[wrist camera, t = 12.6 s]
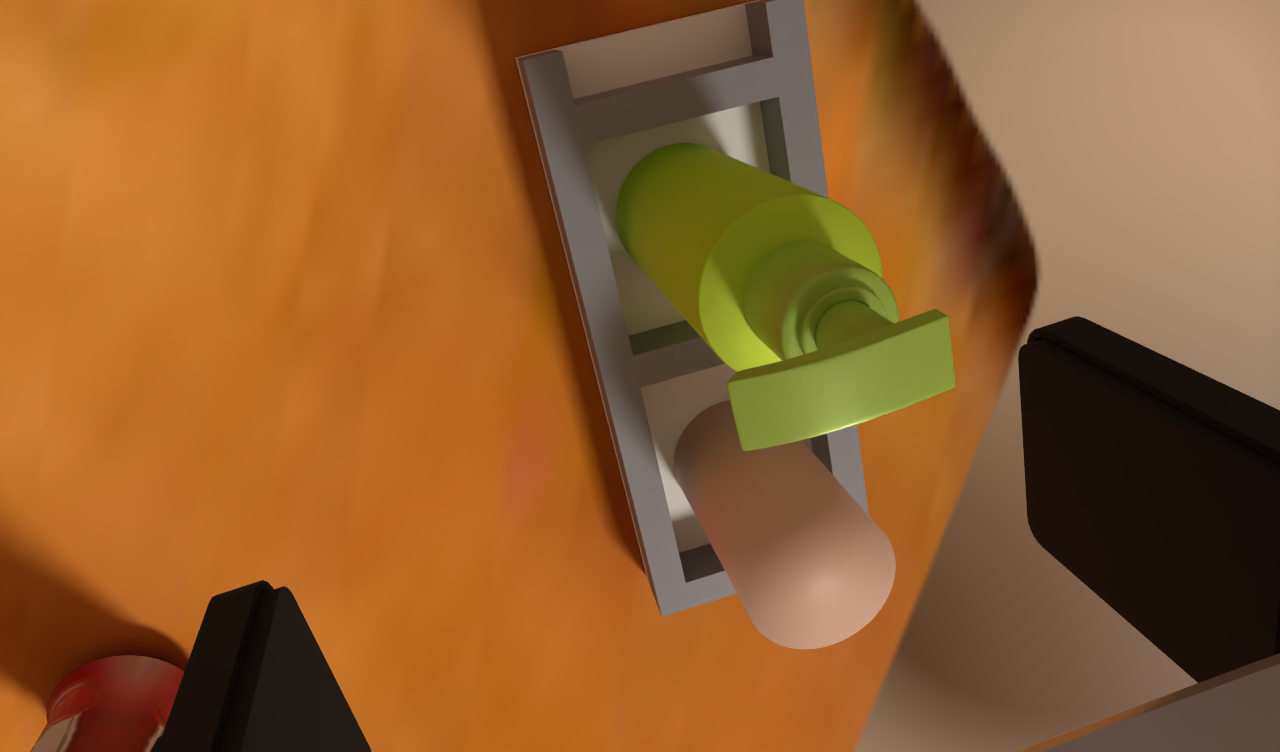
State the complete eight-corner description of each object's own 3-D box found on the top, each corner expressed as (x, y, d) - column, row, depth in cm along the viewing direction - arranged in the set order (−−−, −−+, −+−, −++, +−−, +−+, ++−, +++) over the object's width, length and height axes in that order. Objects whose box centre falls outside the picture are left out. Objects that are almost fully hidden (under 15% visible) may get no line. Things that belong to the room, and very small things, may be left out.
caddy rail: (515, 57, 36) (549, 70, 25) (771, -4, 37) (909, -16, 26) (646, 576, 46) (711, 745, 36) (843, 515, 48) (965, 660, 37)
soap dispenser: (576, 172, 37) (713, 307, 19) (731, 126, 38) (1007, 214, 20) (612, 301, 40) (765, 532, 21) (758, 256, 40) (1026, 442, 22)
